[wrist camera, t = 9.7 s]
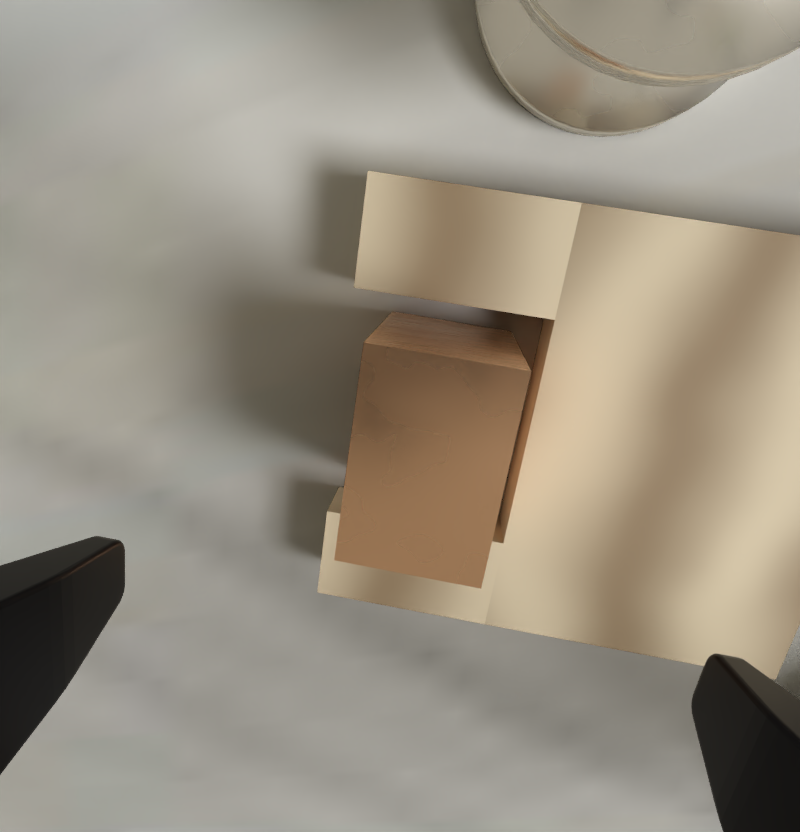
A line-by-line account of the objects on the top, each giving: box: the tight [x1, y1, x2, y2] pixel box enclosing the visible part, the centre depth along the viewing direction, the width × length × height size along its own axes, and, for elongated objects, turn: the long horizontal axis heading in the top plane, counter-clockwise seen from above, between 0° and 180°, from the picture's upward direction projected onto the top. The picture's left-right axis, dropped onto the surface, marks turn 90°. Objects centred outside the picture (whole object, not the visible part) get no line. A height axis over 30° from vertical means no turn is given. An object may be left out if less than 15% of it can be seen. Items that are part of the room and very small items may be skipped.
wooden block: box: [334, 311, 531, 589], centre depth 17 cm, size 4×6×6 cm, turn 171°
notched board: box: [318, 171, 800, 680], centre depth 19 cm, size 16×14×2 cm
